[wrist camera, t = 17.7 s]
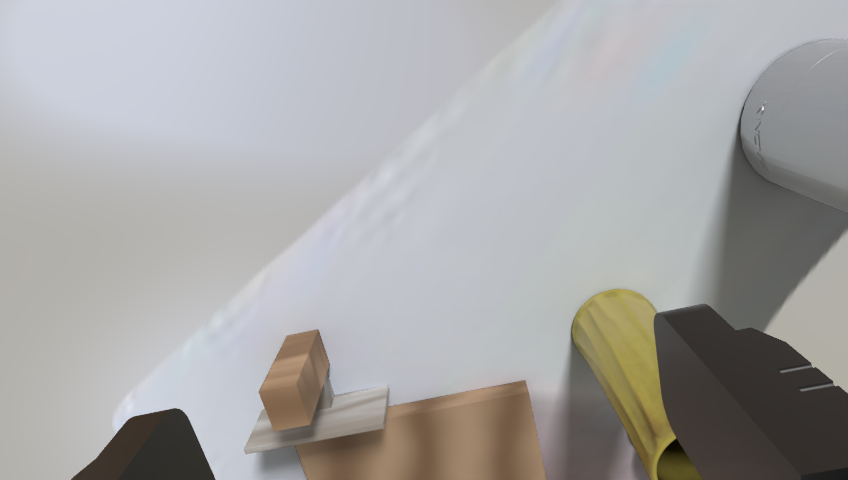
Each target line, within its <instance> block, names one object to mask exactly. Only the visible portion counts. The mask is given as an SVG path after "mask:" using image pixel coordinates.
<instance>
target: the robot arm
mask: <svg viewBox="0 0 848 480" xmlns="http://www.w3.org/2000/svg"><path fill="white" fill-rule="evenodd" d="M740 135H741V141H742V147H743V150H744V153H745V155H746V157H747V160H748V162H749V163H750V164H751V166H752V167H753V168H754V169H755V171H756V172H757V173H758V174H760V175H761V176H762V177H764V178H765V179H766V180H768V181H770V182H772V183H775V184H777V185H779V186H782V187H784V188H787V189H789V190H792V191H794V192H797V193H799V194H802V195H804V196H807V197H809V198H811V199H813V200H816V201H818V202H821V203H823V204H826V205H829V206H831V207H834V208H836V209H839V210H841V211H844V212H846V213H848V39H835V40H821V41H816V42H812V43H807V44H805V45H803V46H800V47H798V48H796V49H794V50H791V51H790V52H788V53H787V54H785V55H784V56H782V57H781V58H779V59H778V60H776V61H775V62H774V63H773V64H772V65H771V66H770V67H769V68H768V69H767V70H766V71H765V72H764V73H763V74H762V75H761V77H760V78H759V80H758V81H757V82H756V84H755V85H754V87H753V88H752V90H751V92H750V94H749V96H748V98H747V100H746V103H745V106H744V110H743V114H742V117H741V130H740ZM654 335H655V344H656V353H657V361H658V370H659V379H660V387H661V396H662V401H663V406H664V409H665V413H666V416H667V419H668V421H669V424H670V426H671V429H672V431H673V433H674V435H675V436H676V438H677V440H678V441H679V443H680V445H681V446H682V448H683V449H684V451H685V453H686V454H687V456H688V457H689V459H690V460H691V462H692V464H693V465H694V467H695V468H696V470H697V472H698V473H699V475H700V476H701V478H702V480H848V393H846V392H845V391H844V390H843V389H842V388H840V387H839V386H834V384H833V381H832V380H831V379H829V378H828V377H827V376H826V375H825V374H823V373H822V372H821V371H820V370H819V369H817V368H816V367H815V368H813V367H812V365H811V363H810V362H809V361H808V360H807V359H805V358H804V357H803V356H802V355H801V354H799V353H798V352H797V351H796V350H795V349H793V348H792V347H791V346H790V345H789V344H787V343H786V342H784V341H782V340H779V339H777V338H774V337H772V336H770V335H767V334H765V333H762V332H760V331H758V330H755V329H753V328H747V329H742V330H737V331H736V330H735V329H734V328H732V327H731V326H730V325H729V324H728V323H727V322H726V321H725V320H724V319H723V318H722V317H721V316H719V315H718V314H717V313H716V312H715V311H714V310H713V309H712V308H711V307H710V306H708V305H706V304H700V305H695V306H690V307H685V308H680V309H675V310H670V311H665V312H660V313H657V314H655V316H654ZM71 480H215V478H214V475H213V473H212V470H211V468H210V466H209V464H208V461H207V459H206V457H205V455H204V452H203V450H202V448H201V446H200V443H199V441H198V439H197V437H196V434H195V432H194V430H193V428H192V425H191V423H190V421H189V419H188V417H187V415H186V414H185V413H184V412H183V411H182V410H180V409H177V408H175V409H169V410H164V411H159V412H154V413H149V414H144V415H139V416H134V417H132V418H130V419H129V420H128V421H127V422H126V423H125V424H124V425H123V426H122V428H121V429H120V430H119V431H118V432H117V434H116V435H115V436H114V438H113V439H112V440H111V441H110V442H109V444H108V445H107V446H106V447H105V448H104V450H103V451H102V452H101V453H100V454H99V456H98V457H97V458H96V459H95V460H94V461H93V462H91V463H90V464H89V465H88V466H86V468H84V469H83V470H82V471H80V472H79V473H78V474H77V475H76V476H74V477H73V478H72V479H71Z"/></svg>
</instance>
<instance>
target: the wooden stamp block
mask: <svg viewBox="0 0 848 480" xmlns="http://www.w3.org/2000/svg"><path fill="white" fill-rule="evenodd" d="M329 366H330V363H329V360H328V357H327V354H326V351H325V348H324V345H323V342H322V339H321V336H320V333H319V330H313V331H308V332H303V333H299V334H294V335H289V336H287V337H286V339H285V341H284V343H283V345H282V347H281V349H280V351H279V353H278V354H277V356H276V358H275V360H274V362H273V364H272V366H271V368H270V370H269V372H268V374H267V376H266V378H265V380H264V382H263V384H262V386H261V388H260V390H259V394H260V397H261V399H262V402H263V404H264V407H265V409H264V410H262V412H261V414H260V416H259V418H258V420H257V423H256V425H255V427H254V429H253V431H252V433H251V435H250V437H249V440H248V442H247V444H246V446H245V448H244V451H245V454H250V453H255V452H260V451H266V450H271V449H276V448H282V447H287V446H292V445H298V444H303V443H308V442H314V441H319V440H324V439H330V438H335V437H340V436H346V435H351V434H356V433H362V432H367V431H372V430H378V429H383V428H385V422H386V414H387V406H388V398H389V386H388V385H387V386H382V387H377V388H372V389H367V390H361V391H356V392H351V393H346V394H341V395H336V396H335V395H334V392H333V389H332V386H331V383H330V380H329V377H328V374H327V372H328V369H329Z"/></svg>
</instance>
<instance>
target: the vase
mask: <svg viewBox="0 0 848 480" xmlns="http://www.w3.org/2000/svg"><path fill="white" fill-rule="evenodd" d="M655 314H657V311H656V309H655V308H654V306H653V305H652V304H651V303H650V301H648V300H647V299H646V298H645V297H644V296H642V295H641V294H639V293H636V292H634V291H630V290H625V289H613V290H608V291H605V292H602V293H600V294H597V295H595V296H593V297H592V298H590V299H589V300H588V301H587V302H586V303H585V304H584V305H583V306H582V307H581V308H580V309H579V311H578V313H577V314H576V317H575V319H574V323H573V328H572V335H573V340H574V343H575V345H576V347H577V349H578V350H579V352H580V353H581V355H582V356H583V357H584V358H585V359H586V361H587V363H588V364H589V366H590V368H591V369H592V371H593V372H594V374H595V376H596V378H597V380H598V381H599V383H600V385H601V387H602V389H603V390H604V392H605V394H606V396H607V397H608V399H609V401H610V403H611V405H612V406H613V408H614V410H615V411H616V413H617V415H618V416H619V418H620V420H621V422H622V423H623V425H624V427H625V429H626V431H627V433H628V435H629V437H630V439H631V441H632V443H633V445H634V447H635V449H636V451H637V453H638V455H639V457H640V459H641V461H642V463H643V465H644V467H645V469H646V471H647V474H648V476H649V478H650V480H702V478H701V476H700V475H699V473H698V472H697V470H696V468H695V467H694V465H693V464H692V462H691V460H690V459H689V457H688V456H687V454H686V453H685V451H684V449H683V448H682V446H681V445H680V443H679V441H678V440H677V438H676V436H675V435H674V433H673V431H672V429H671V426H670V424H669V421H668V419H667V416H666V413H665V409H664V406H663V401H662V396H661V387H660V379H659V370H658V361H657V353H656V344H655V335H654V316H655Z"/></svg>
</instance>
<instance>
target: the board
mask: <svg viewBox="0 0 848 480" xmlns="http://www.w3.org/2000/svg"><path fill="white" fill-rule="evenodd" d="M295 448H296V451H297V453H298V456H299V459H300V461H301V464H302V466H303V469H304V472H305V474H306V477H307V480H546V475H545V471H544V466H543V461H542V456H541V451H540V446H539V441H538V436H537V431H536V426H535V422H534V417H533V412H532V407H531V402H530V397H529V392H528V389H527V385H526V382H525V380H524V381H519V382H514V383H509V384H504V385H498V386H493V387H488V388H483V389H478V390H473V391H467V392H462V393H457V394H452V395H447V396H442V397H436V398H431V399H426V400H421V401H416V402H411V403H405V404H400V405H395V406H390V407H387V414H386V422H385V428H383V429H378V430H372V431H367V432H362V433H356V434H351V435H346V436H340V437H335V438H330V439H324V440H319V441H314V442H308V443H303V444H298V445H295Z"/></svg>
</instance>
